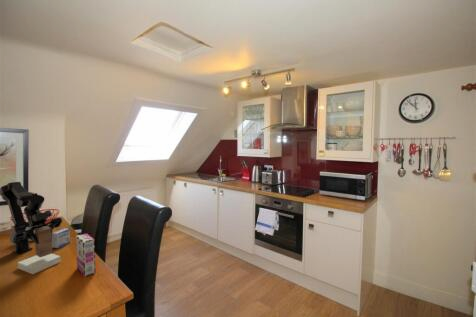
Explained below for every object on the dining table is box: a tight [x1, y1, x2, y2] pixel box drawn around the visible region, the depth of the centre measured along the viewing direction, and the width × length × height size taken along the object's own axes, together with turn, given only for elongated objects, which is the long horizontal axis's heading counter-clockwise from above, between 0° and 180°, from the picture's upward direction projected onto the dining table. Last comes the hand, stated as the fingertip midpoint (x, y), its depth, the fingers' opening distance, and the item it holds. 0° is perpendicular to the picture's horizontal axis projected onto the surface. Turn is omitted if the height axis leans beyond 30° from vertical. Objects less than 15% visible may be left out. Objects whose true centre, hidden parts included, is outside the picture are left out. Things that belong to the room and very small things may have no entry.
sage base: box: [17, 253, 62, 275], centre depth 117 cm, size 12×12×3 cm
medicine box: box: [52, 228, 71, 249], centre depth 139 cm, size 8×4×9 cm, turn 168°
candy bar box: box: [75, 233, 96, 277], centre depth 112 cm, size 11×5×16 cm, turn 49°
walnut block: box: [34, 226, 53, 257], centre depth 116 cm, size 5×5×13 cm
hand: (44, 241), depth 115 cm, fingers closed on walnut block, 5 cm apart
